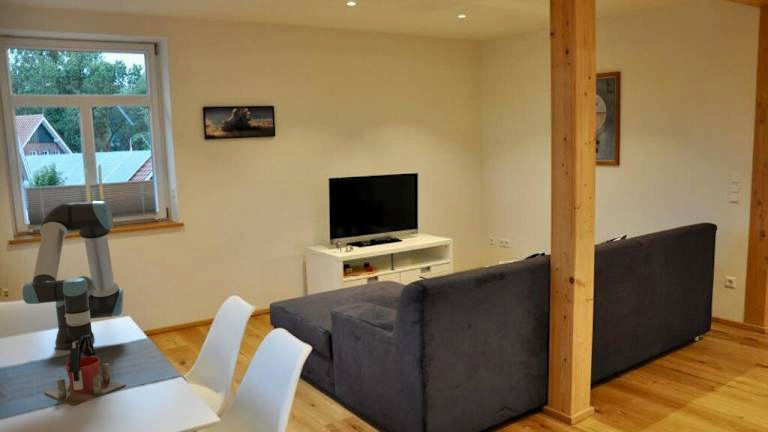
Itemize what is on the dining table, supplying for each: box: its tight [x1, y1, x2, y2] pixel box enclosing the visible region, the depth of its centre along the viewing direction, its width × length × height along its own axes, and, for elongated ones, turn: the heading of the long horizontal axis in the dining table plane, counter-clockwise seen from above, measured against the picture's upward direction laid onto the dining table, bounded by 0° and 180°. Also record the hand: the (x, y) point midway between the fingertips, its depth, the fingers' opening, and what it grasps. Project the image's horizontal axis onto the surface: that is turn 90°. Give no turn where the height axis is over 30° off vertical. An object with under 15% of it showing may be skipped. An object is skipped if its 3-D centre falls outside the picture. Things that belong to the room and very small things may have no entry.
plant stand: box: [44, 363, 127, 407], centre depth 216 cm, size 19×19×7 cm
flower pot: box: [65, 356, 101, 392], centre depth 216 cm, size 11×11×10 cm
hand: (84, 381), depth 216 cm, fingers open, 13 cm apart
